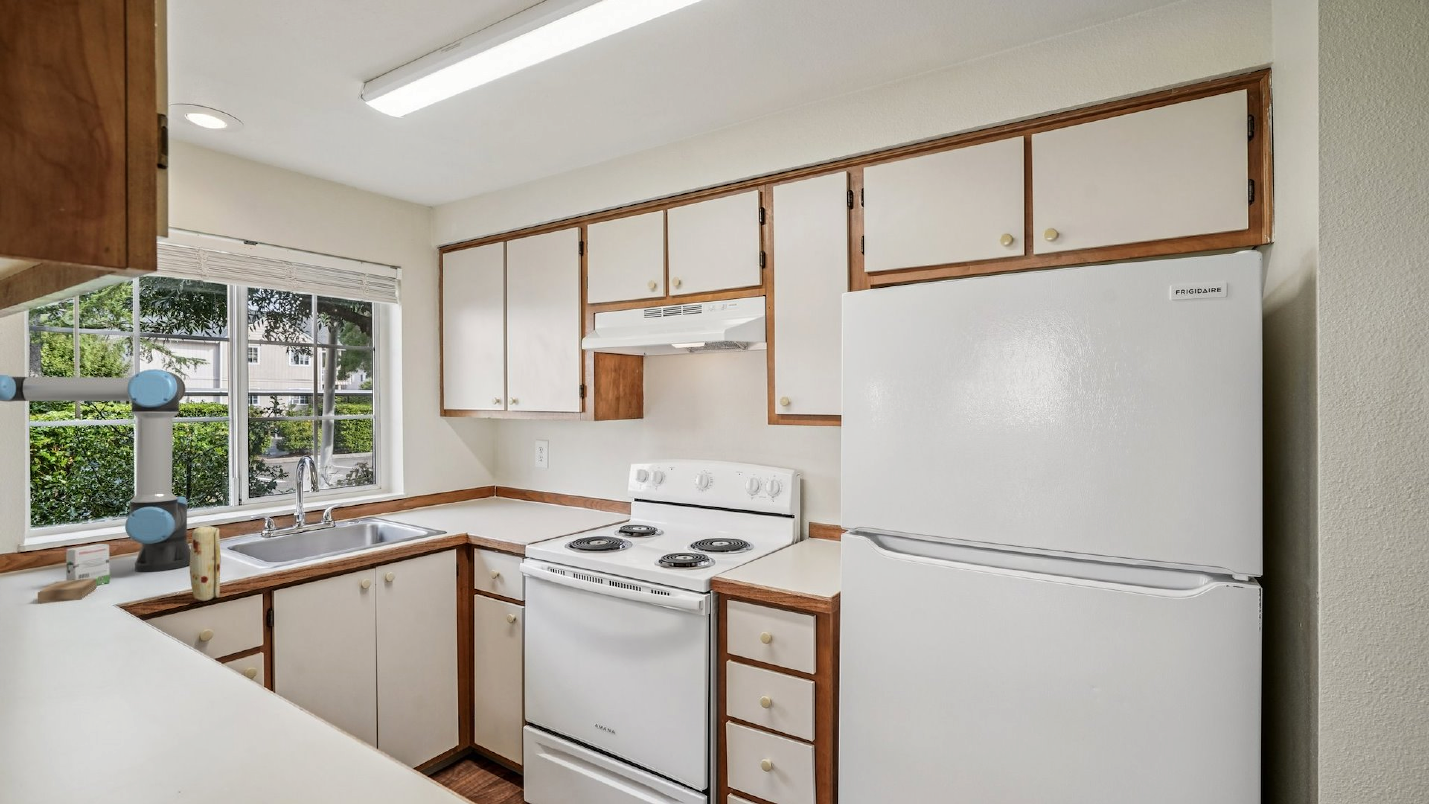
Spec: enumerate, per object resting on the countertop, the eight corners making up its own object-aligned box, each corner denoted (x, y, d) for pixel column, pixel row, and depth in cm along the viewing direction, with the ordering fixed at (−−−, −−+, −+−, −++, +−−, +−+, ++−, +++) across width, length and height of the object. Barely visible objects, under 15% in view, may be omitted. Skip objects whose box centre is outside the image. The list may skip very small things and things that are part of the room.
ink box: (100, 581, 206) (100, 542, 206) (110, 583, 204) (110, 543, 205) (64, 588, 198) (65, 548, 198) (74, 590, 196) (74, 549, 197)
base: (96, 589, 198) (96, 577, 198) (81, 599, 187) (81, 587, 187) (55, 593, 194) (55, 581, 194) (37, 603, 183) (37, 591, 183)
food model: (195, 596, 189) (195, 524, 189) (224, 593, 192) (224, 522, 192) (185, 605, 180) (185, 530, 180) (216, 602, 183) (216, 528, 183)
